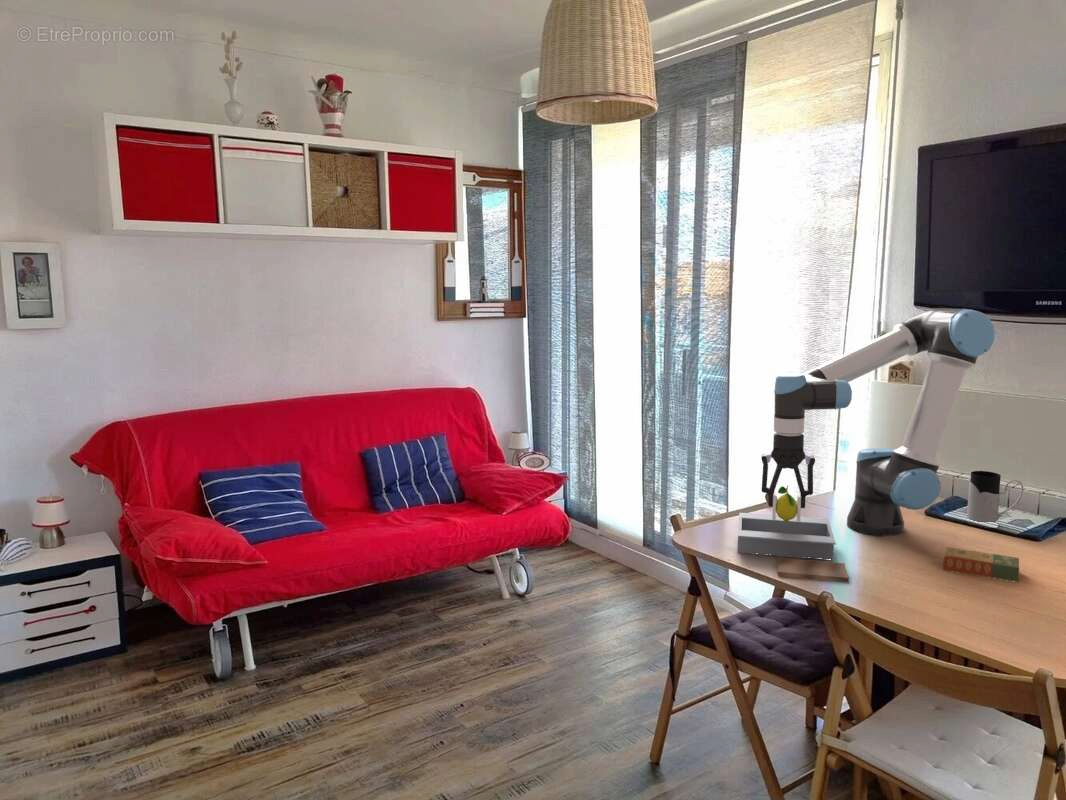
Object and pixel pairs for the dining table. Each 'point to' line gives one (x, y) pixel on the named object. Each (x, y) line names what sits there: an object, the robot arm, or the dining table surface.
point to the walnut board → (812, 570)
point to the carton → (981, 564)
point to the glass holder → (986, 496)
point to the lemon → (786, 505)
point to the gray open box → (785, 536)
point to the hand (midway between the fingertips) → (786, 518)
